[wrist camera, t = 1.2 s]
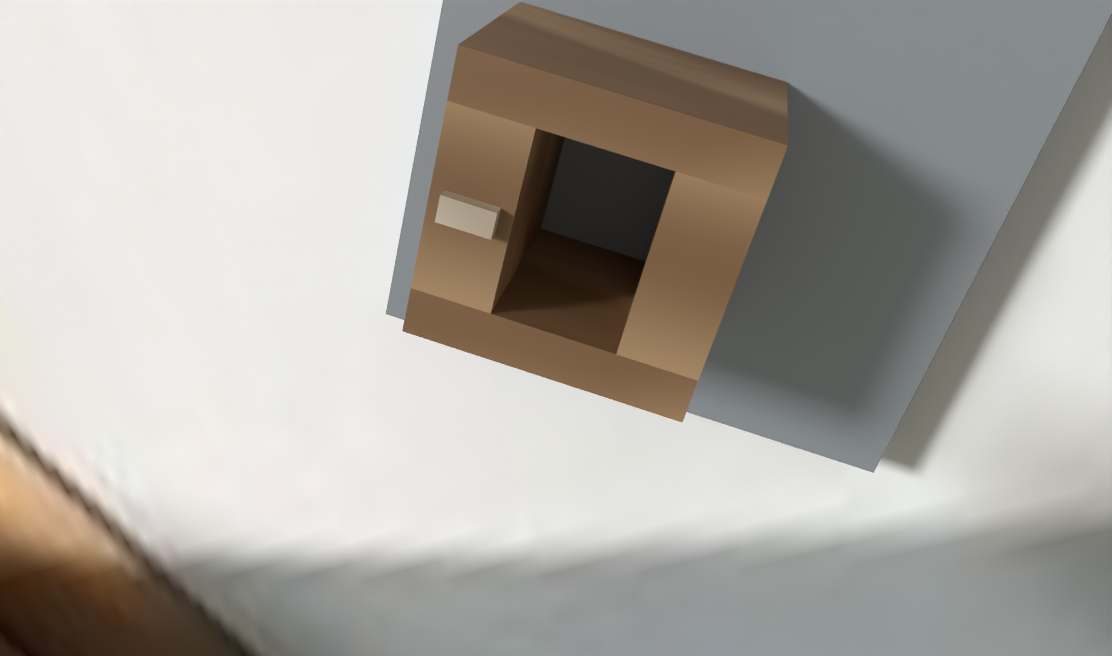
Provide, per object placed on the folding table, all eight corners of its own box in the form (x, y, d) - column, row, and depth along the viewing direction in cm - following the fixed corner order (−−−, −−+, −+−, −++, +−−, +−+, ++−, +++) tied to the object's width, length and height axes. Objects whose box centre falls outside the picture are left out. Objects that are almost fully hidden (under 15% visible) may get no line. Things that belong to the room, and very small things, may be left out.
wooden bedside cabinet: (699, 319, 25) (681, 430, 21) (466, 245, 26) (397, 337, 21) (787, 82, 22) (788, 150, 18) (520, 1, 23) (452, 48, 18)
